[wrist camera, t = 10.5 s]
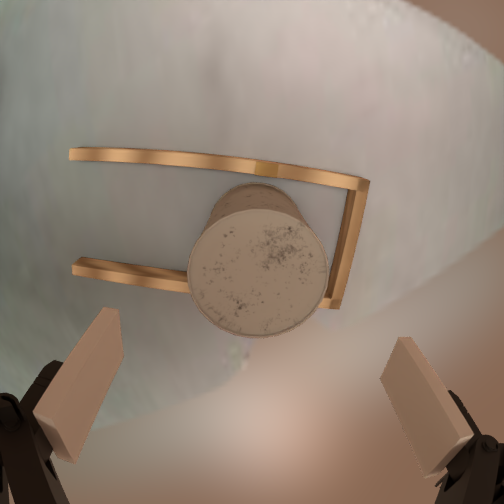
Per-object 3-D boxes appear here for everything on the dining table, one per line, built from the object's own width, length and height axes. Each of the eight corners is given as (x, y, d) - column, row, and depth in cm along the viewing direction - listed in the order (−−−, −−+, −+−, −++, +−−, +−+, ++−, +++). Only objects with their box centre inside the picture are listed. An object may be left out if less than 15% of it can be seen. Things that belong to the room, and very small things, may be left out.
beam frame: (82, 266, 34) (70, 276, 31) (81, 147, 29) (66, 148, 26) (333, 298, 35) (340, 312, 32) (361, 177, 30) (372, 181, 28)
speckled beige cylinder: (311, 256, 33) (340, 316, 22) (227, 281, 34) (216, 351, 23) (286, 170, 30) (309, 189, 19) (195, 199, 31) (164, 235, 20)
